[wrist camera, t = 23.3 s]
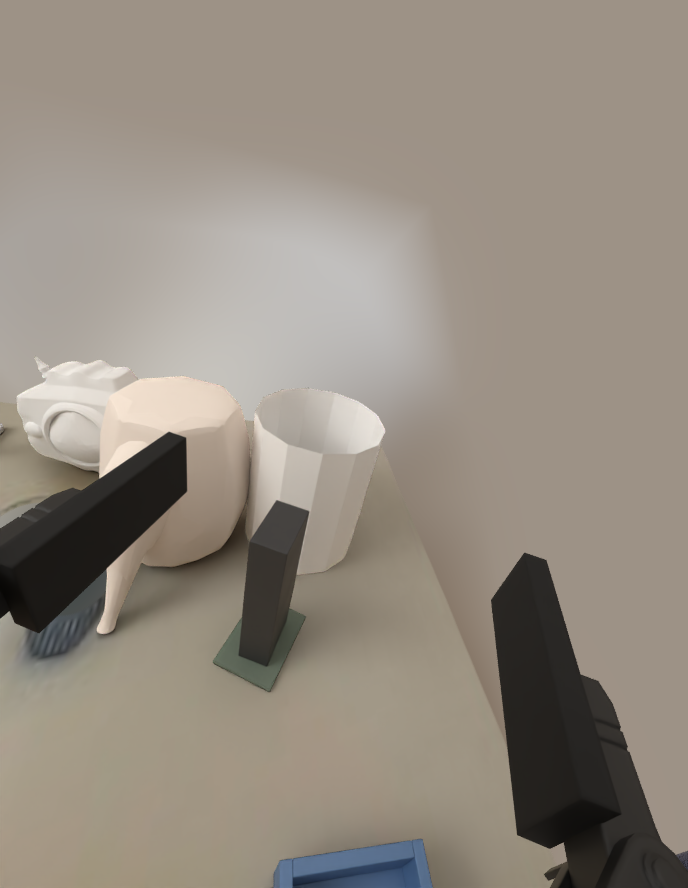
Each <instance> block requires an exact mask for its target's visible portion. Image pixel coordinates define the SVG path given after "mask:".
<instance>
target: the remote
mask: <svg viewBox="0 0 688 888" xmlns="http://www.w3.org/2000/svg"><path fill="white" fill-rule="evenodd" d="M308 516H309V511H308V510H305V509H302V508H299V507H296V506H293V505H290V504H287V503H284V502H281V501H278V500H276V501H275V503H274V504H273V506H272V508H271V509H270V511H269V512H268V514H267V515H266V517H265V518H264V520H263V521H262V523H261V524H260V526H259V527H258V529H257V530H256V532H255V533H254V535H253V537H252V538H251V540H250V541H249V551H248V561H247V572H246V582H245V592H244V603H243V613H242V623H241V633H240V644H239V654H238V656H241V657H243V658H246V659H248V660H251V661H253V662H256V663H259V664H261V665H264V666H266V667H267V666H268V664H269V661H270V659H271V656H272V654H273V652H274V649H275V647H276V645H277V642H278V640H279V638H280V635H281V633H282V630H283V628H284V626H285V623H286V621H287V616H288V612H289V607H290V602H291V597H292V593H293V588H294V583H295V578H296V573H297V569H298V564H299V559H300V554H301V550H302V545H303V540H304V535H305V531H306V526H307V521H308Z"/></svg>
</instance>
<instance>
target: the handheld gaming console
mask: <svg viewBox="0 0 688 888" xmlns="http://www.w3.org/2000/svg"><path fill="white" fill-rule="evenodd" d="M3 431H4V428H3V425H2V423H0V434H1V433H2V432H3Z"/></svg>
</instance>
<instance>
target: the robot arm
mask: <svg viewBox="0 0 688 888" xmlns="http://www.w3.org/2000/svg"><path fill="white" fill-rule="evenodd" d="M186 492H187V443H186V437H183V436H180V435H177V434H174V433H171V432H167V433H166V434H164V435H163V436H161V437H160V438H158V439H157V440H156V441H154V442H153V443H151V444H150V445H148V446H147V447H145V448H144V449H142V450H141V451H139V452H138V453H136V454H135V455H134V456H132V457H131V458H129V459H128V460H126V461H125V462H123V463H122V464H120V465H119V466H117V467H116V468H114V469H113V470H111V471H110V472H109V473H107V474H106V475H104V476H103V477H101V478H100V479H98V480H97V481H95V482H94V483H92V484H91V485H89V486H88V487H87V488H85V489H84V490H82V491H80V490H77V489H74V488H71V489H68V490H65V491H62V492H60V493H57V494H54V495H52V496H50V497H49V498H47V499H46V500H44V501H42V502H41V503H39V504H38V505H36V507H35V508H34V509H33V508H32V509H30V510H28V511H27V512H26V513H24V514H22V516H21V517H20V518H19V517H18V518H16V519H14V520H13V521H12V522H10V523H8V524H7V525H5V526H4V527H2V528H0V618H2V617H3V616H4V615H5V614H6V613H7V612H9V611H10V613H11V615H12V618H13V620H14V622H15V623H16V624H18V625H20V626H23V627H25V628H27V629H30V630H32V631H35V632H37V633H40V632H41V631H42V630H43V629H44V628H45V627H46V626H47V625H48V624H49V623H50V622H51V621H53V620H54V619H55V618H56V617H57V616H58V615H59V614H60V613H61V612H62V611H63V610H64V609H65V608H66V607H67V606H68V605H69V604H70V603H71V602H72V601H73V600H74V599H75V598H77V597H78V596H79V595H80V594H81V593H82V591H84V590H85V589H86V588H87V587H88V586H89V585H90V584H91V583H92V582H93V581H94V580H95V579H96V578H97V577H98V576H100V575H101V574H102V573H103V572H104V571H105V570H106V569H107V568H108V567H109V566H110V565H111V564H112V563H113V562H114V561H115V560H116V559H117V558H118V557H119V556H120V555H121V554H123V553H124V552H125V551H126V550H127V549H128V548H129V547H130V546H131V545H132V544H133V543H134V542H135V541H136V540H137V539H138V538H139V537H140V536H141V535H142V534H143V533H144V532H146V531H147V530H148V529H149V528H150V527H151V526H152V525H153V524H154V523H155V522H156V521H157V520H158V519H159V518H160V517H161V516H162V515H163V514H164V513H165V512H166V511H167V510H169V509H170V508H171V507H172V506H173V505H174V504H175V503H176V502H177V501H178V500H179V499H180V498H181V497H182V496H183V495H184V494H185V493H186ZM491 603H492V613H493V622H494V631H495V640H496V649H497V657H498V667H499V676H500V685H501V694H502V702H503V711H504V720H505V729H506V738H507V747H508V756H509V765H510V774H511V783H512V792H513V801H514V810H515V819H516V828H517V835H518V836H521V837H523V838H525V839H528V840H530V841H533V842H535V843H537V844H540V845H542V846H544V847H547V848H549V849H551V848H553V847H555V846H557V845H559V844H561V843H563V842H564V846H565V852H566V857H567V862H565V863H563V864H560V865H558V866H556V867H553V868H551V869H550V870H548V871H547V872H546V873H545V874H544V875H545V877H546V878H547V879H548V881H549V880H551V879H554V878H555V879H554V881H553V883H552V885H551V887H550V888H688V871H687V869H686V868H685V867H684V865H683V864H682V863H681V861H680V860H679V859H678V857H677V856H676V855H675V854H674V853H673V852H672V851H671V850H670V849H669V848H668V847H667V846H666V845H665V844H664V843H662V841H661V839H660V836H659V834H658V832H657V829H656V827H655V824H654V821H653V818H652V815H651V813H650V810H649V807H648V804H647V801H646V798H645V795H644V793H643V790H642V787H641V784H640V781H639V778H638V775H637V772H636V770H635V767H634V764H633V761H632V758H631V755H630V752H628V751H627V744H626V741H625V738H624V735H623V732H621V731H620V728H621V726H620V724H619V721H618V718H617V715H616V712H615V709H614V707H613V704H612V702H611V701H610V699H609V697H608V696H607V694H606V693H605V691H604V690H603V688H602V686H601V685H600V683H599V682H598V681H596V680H594V679H591V678H588V677H586V676H583V675H580V672H579V668H578V665H577V662H576V658H575V655H574V652H573V648H572V645H571V642H570V638H569V635H568V631H567V628H566V624H565V621H564V618H563V615H562V611H561V608H560V605H559V601H558V598H557V594H556V591H555V588H554V584H553V581H552V578H551V574H550V571H549V568H548V564H547V561H546V560H544V559H541V558H539V557H536V556H533V555H530V554H527V553H524V554H523V555H522V557H521V558H520V560H519V561H518V562H517V564H516V565H515V567H514V568H513V570H512V571H511V572H510V574H509V575H508V577H507V578H506V580H505V581H504V582H503V584H502V585H501V587H500V588H499V590H498V591H497V592H496V594H495V595H494V597H493V598H492V600H491Z"/></svg>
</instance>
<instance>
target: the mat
mask: <svg viewBox="0 0 688 888" xmlns="http://www.w3.org/2000/svg"><path fill="white" fill-rule="evenodd" d="M305 618H306V616H304V615H302V614H300V613H298V612H296V611H294V610H291V609H289V612H288V616H287V621H286V623H285V626H284V628H283V630H282V633H281V635H280V638H279V640H278V642H277V645H276V647H275V649H274V652H273V654H272V656H271V659H270V661H269V664H268V666H267V667H266V666H264V665H261V664H259V663H256V662H253V661H251V660H248V659H246V658H243V657H241V656H238V654H239V644H240V633H241V623H242V618H241V619H240V621H239V622H238V624H237V625H236V627H235V628H234V630H233V631H232V633H231V635H230V636H229V638H228V639H227V641H226V642H225V644H224V645H223V647H222V648H221V650H220V651H219V653H218V654H217V656H216V657H215V659H214V660H213V663H214V664H216V665H218V666H220V667H222V668H224V669H225V670H227V671H229V672H231V673H233V674H235V675H237V676H239V677H241V678H243V679H245V680H247V681H249V682H251V683H253V684H255V685H257V686H258V687H260V688H262V689H264V690H266V691H268V692H270V690H271V688H272V686H273V684H274V682H275V680H276V678H277V676H278V674H279V672H280V669H281V667H282V665H283V663H284V661H285V659H286V657H287V655H288V653H289V651H290V649H291V647H292V645H293V643H294V641H295V639H296V636H297V634H298V632H299V630H300V628H301V626H302V624H303V622H304V620H305Z"/></svg>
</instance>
